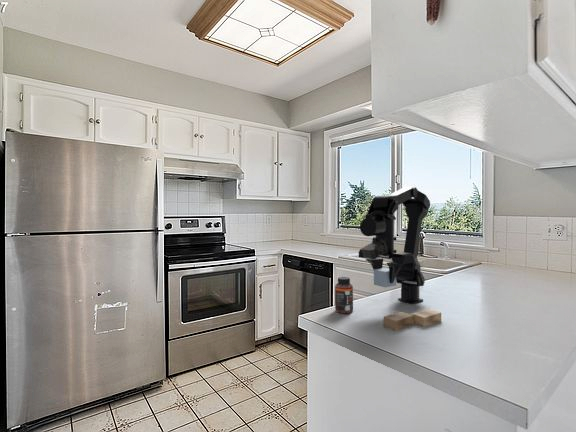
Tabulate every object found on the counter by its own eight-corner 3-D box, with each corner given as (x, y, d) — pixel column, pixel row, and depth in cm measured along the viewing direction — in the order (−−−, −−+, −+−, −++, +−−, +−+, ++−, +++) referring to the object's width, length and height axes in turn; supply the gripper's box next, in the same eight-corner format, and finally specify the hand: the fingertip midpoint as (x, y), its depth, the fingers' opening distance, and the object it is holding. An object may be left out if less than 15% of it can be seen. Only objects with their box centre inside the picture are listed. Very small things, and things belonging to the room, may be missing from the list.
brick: (428, 318, 103) (428, 308, 103) (441, 322, 100) (441, 312, 100) (411, 323, 99) (411, 313, 99) (424, 327, 96) (424, 317, 96)
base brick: (401, 321, 101) (401, 311, 101) (413, 325, 98) (413, 315, 97) (383, 326, 97) (383, 316, 97) (395, 331, 93) (395, 320, 93)
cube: (384, 282, 112) (384, 267, 112) (396, 285, 108) (396, 270, 108) (373, 284, 109) (373, 269, 109) (385, 287, 105) (385, 271, 105)
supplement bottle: (353, 314, 108) (352, 280, 107) (334, 313, 109) (334, 279, 108) (353, 309, 113) (352, 276, 113) (335, 308, 115) (335, 275, 114)
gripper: (346, 234, 112) (347, 280, 112) (390, 237, 96) (391, 291, 96) (369, 232, 118) (370, 275, 118) (415, 235, 102) (415, 285, 102)
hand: (385, 281), depth 109 cm, fingers closed on cube, 5 cm apart
